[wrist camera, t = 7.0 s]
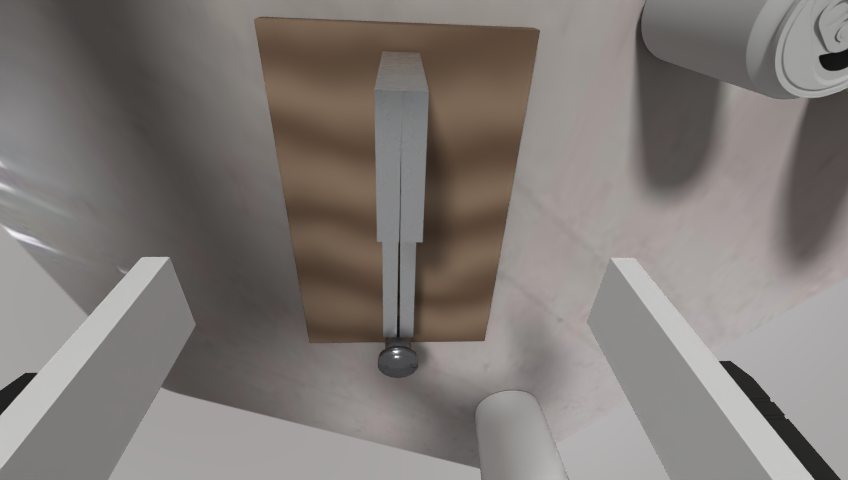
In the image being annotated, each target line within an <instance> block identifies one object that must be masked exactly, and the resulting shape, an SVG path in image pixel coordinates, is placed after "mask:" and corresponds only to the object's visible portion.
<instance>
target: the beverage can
mask: <svg viewBox="0 0 848 480" xmlns="http://www.w3.org/2000/svg"><path fill="white" fill-rule="evenodd" d="M641 30H642V36H643V40H644V43H645V45H646V47H647V48H648V50H649V51H650V52H651V53H652V54H653V55H654V56H655V57H657V58H659V59H661V60H663V61H666V62H669V63H672V64H675V65H678V66H681V67H684V68H686V69H689V70H692V71H695V72H698V73H701V74H704V75H707V76H710V77H713V78H716V79H719V80H722V81H725V82H727V83H730V84H733V85H736V86H739V87H742V88H745V89H748V90H751V91H754V92H757V93H760V94H763V95H766V96H768V97H772V98H776V99H795V98H800V97H803V98H819V97H824V96H827V95H831V94H834V93H837V92H840V91H842V90H844V89H846V88H848V0H647V1H646V3H645V6H644V10H643V14H642V21H641Z"/></svg>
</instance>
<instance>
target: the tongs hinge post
mask: <svg viewBox="0 0 848 480" xmlns="http://www.w3.org/2000/svg"><path fill="white" fill-rule="evenodd" d="M417 367H418V356H417V354H416V352H415V351H413V350H412V349H411V337H400V316H397V337H386V342H385V350H383V351H382V352H381V353H380V355H379V357H378V368H379V370H380V371H381V372H382V373H383V374H385V375H387V376H389V377H395V378H400V377H406V376H408V375H411V374H412V373H414V372H415V371H416V369H417Z"/></svg>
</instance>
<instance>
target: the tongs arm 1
mask: <svg viewBox="0 0 848 480" xmlns="http://www.w3.org/2000/svg"><path fill="white" fill-rule="evenodd" d="M401 99H402V75H401V52H389V51H382V56H381V61H380V65H379V70H378V75H377V79H376V84H375V89H374V101H375V155H376V209H377V242H382V255H383V337H397V292H398V242H399V222H400V167H401Z"/></svg>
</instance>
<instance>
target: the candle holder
mask: <svg viewBox="0 0 848 480" xmlns="http://www.w3.org/2000/svg"><path fill="white" fill-rule="evenodd" d="M475 421H476V432H477V442H478V451H479V461H480V470H481V479H482V480H569V478H568V476H567V473H566V471H565V468H564V465H563V463H562V460H561V458H560V455H559V452H558V450H557V447H556V445H555V442H554V440H553V437H552V434H551V432H550V429H549V427H548V424H547V422H546V419H545V417H544V414H543V412H542V409H541V407H540V404H539V402H538V401H537V399H536V398H535V397H534V396H532V395H531V394H529V393H526V392H523V391H517V390H509V391H502V392H498V393H495V394H492V395H490V396H488V397H486V398H485V399H484V400H482V401H481V402H480V403H479V405H478V406H477V408H476V411H475Z"/></svg>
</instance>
